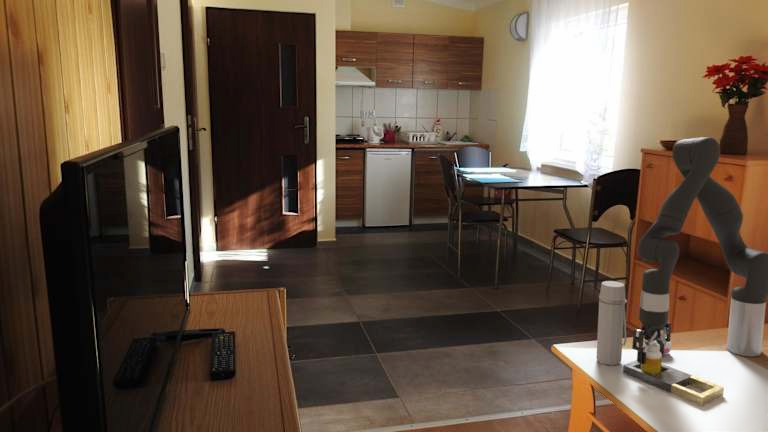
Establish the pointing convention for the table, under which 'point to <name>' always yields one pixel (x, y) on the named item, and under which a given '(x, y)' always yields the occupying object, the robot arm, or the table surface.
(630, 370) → the rail
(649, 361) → the supplement bottle
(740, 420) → the table surface
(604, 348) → the water bottle
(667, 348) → the stress ball
